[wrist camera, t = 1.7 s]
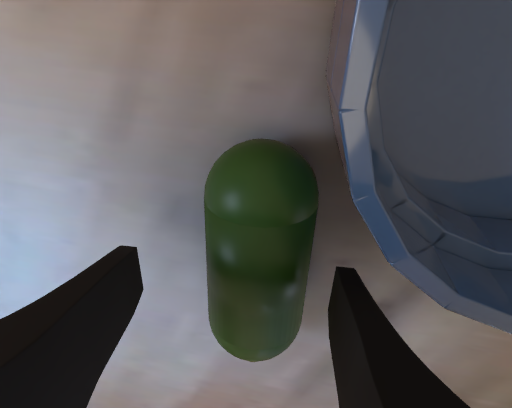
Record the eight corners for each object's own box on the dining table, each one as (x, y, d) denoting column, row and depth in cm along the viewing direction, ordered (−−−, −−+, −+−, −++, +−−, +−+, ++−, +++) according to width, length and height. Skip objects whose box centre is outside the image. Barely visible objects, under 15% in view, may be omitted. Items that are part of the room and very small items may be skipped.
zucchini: (281, 313, 19) (308, 382, 15) (205, 325, 18) (216, 401, 15) (301, 122, 14) (348, 162, 10) (196, 125, 13) (210, 171, 9)
